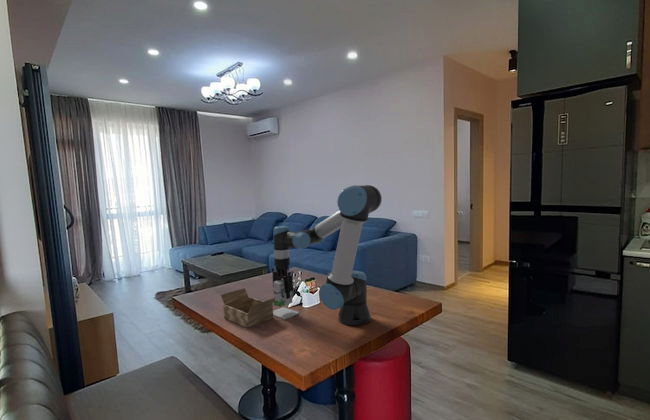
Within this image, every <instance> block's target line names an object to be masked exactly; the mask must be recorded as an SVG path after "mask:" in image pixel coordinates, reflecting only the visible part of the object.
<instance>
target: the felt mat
mask: <svg viewBox="0 0 650 420" xmlns="http://www.w3.org/2000/svg"><path fill="white" fill-rule="evenodd" d="M297 315H300V312H299V311H296V310H293V309H290V308H288V307H284V306H282V307H279V308H277V309H273V317H275V318H278V319H281V320H282V321H283V320H284V321H285V320H287V319H289V318H293V317H295V316H297Z"/></svg>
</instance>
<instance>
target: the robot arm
mask: <svg viewBox="0 0 650 420" xmlns="http://www.w3.org/2000/svg"><path fill="white" fill-rule="evenodd" d="M382 198H383V197H382V194H381V192H380V190H379V189H378V188H377V187H375V186H374V185H368V184H367V185H366V184H365V185H351V186H347V187H345V188H343V189H342V190H341V191H340V193H339V194H338V196H337V201H336V202H337V203H336V204H337V207H338V211H337V210H336V212H334V213H333V214H331V215H330V216H328V217H327V218H325V219H324V220H322V221H321V222H319V223H317V224H316V225H314V226H313V227H312V228H310V229H305V230H299V231H293V230H292V231H290V228H289V226H287V225H278V226H277V225H276V226H275V227H274V228H273V235H272V236H273V257H274V259H273V261H274V262H273V263H274V267H273V268H271V273H272V283H273V282H274V281H277V280H282V279H283V282H284V287H285V292H284V304H285V305H284V306H288V305H290V304H291V303H290V299H289V298H290V292H291V291H292V292H293V291H294V282H293V281H294V277H293V276H294V271H292V270H290V268H289V266H290V264H291V262H290V261H291V258H290V248H293V249H306V248H308V247H309V246H310V245H313V244H319V243H321V242H323V241H324V240H325V238H326V237H328V236H330V235H332V234H333V233H335V232H337V231H339V230H340V231H339V235H338V240H337V245H336V249H335V255H334V259H333V263H332V264H333V265H332V268H331V271H330V272H327V273H328V274H327V276H326V280H325V283H323V284H322V285H321V286H320V288H319V290H318V296H319V298H320V301H321V302H322V304H323V305H324V306H325V308H327V309H329V310H338V309H339V312H338V321H339V322H340V323H341V324H343V325H345V324H346V325H347V326H351V325H360V326H363V324H365V325H367V324H369V323H370V322H371V320H372V319H371V312H370V309H369V306H368V303H367V297H368V296H367V293H368V292H367V281H368V280H367V275H366V273H365V272H363V271H360V270H353V269H354V265H355V260H356V255H357V251H358V247H359V243H360V238H361V233H362V229H363V225H364V224H365V223H367V222H368V219H369V215H370V214H371V213H373V212H375V211H376V210H378V209H379V208H380V206H381V204H382ZM287 289H288V290H287ZM369 321H370V322H369ZM368 322H369V323H368ZM366 323H367V324H366Z"/></svg>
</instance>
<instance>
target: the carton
mask: <svg viewBox="0 0 650 420" xmlns="http://www.w3.org/2000/svg"><path fill="white" fill-rule="evenodd" d="M220 297H221V300H222V302H223V305H222V306H223V318H224V319H226V320H228V321H231V322H232V323H235V324H237V325H239V326H241V327H245V328H246V329H248V328H251V327H254V326H256V325H259V324H261V323H263V322H266V321H268V320H271V319H273V318H274V316H273V311H274V300H275V298H274V297H273V298H270V299H268V300H264V301H263V300H260V299H257V298H255V297H252V296H249V295H248V293H247V290H246V288H245V287H243V288H239V289H236V290H234V291H229V292H227V293H223V294H220ZM245 311H247V312H245Z"/></svg>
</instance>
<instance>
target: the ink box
mask: <svg viewBox="0 0 650 420" xmlns="http://www.w3.org/2000/svg"><path fill="white" fill-rule="evenodd" d="M272 288H273V290H272V291H273V298H275V300H274V302H273V306H276V307H279V308H282V307H284V306H285V304H284V292H285V287H284V282H283V279H282V280H277V281H274V282H273V281H272ZM287 290H288V289H287ZM289 299H290V304H292V303H293V291H291V292H290V298H289Z"/></svg>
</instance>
